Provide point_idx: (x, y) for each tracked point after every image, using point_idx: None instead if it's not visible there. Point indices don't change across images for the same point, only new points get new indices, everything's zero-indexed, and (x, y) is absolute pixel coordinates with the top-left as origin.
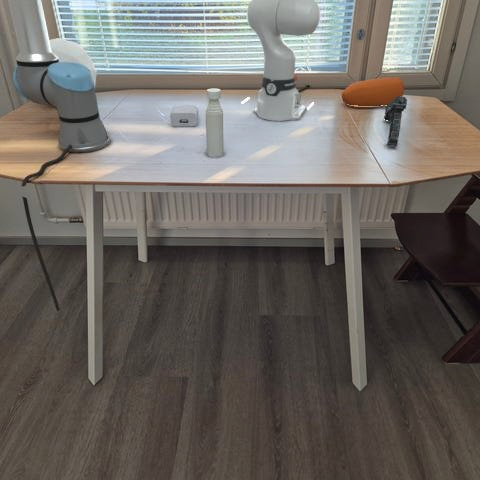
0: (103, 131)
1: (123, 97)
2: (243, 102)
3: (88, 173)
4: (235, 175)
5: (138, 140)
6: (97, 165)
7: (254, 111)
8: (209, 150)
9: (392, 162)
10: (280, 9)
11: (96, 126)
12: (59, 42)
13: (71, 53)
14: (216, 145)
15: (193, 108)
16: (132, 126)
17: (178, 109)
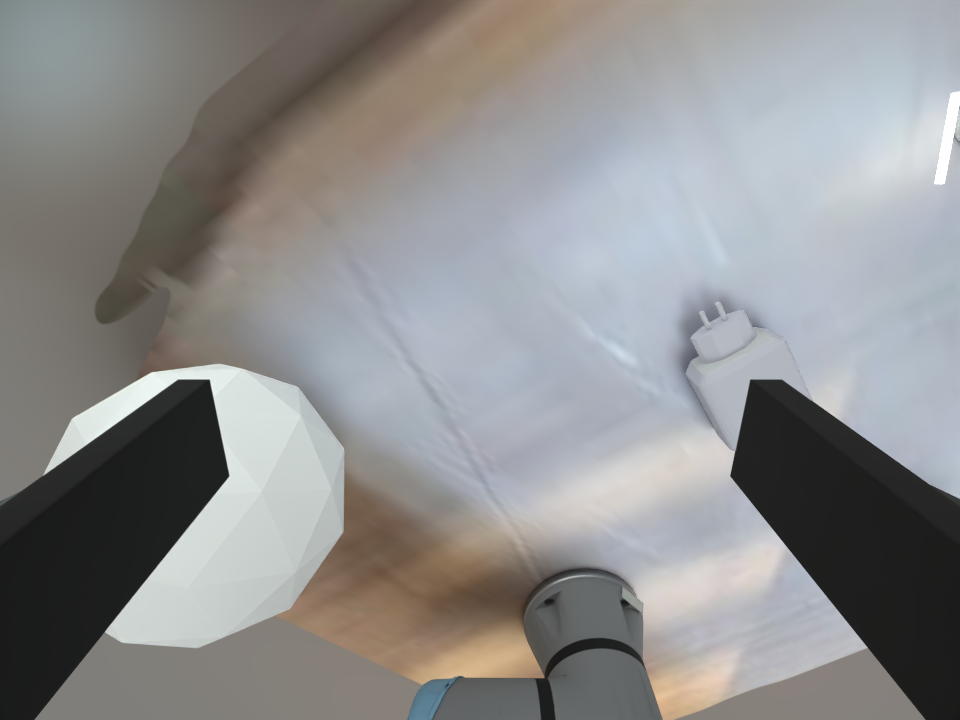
0: (640, 626)
1: (342, 267)
2: (942, 168)
3: (694, 690)
4: None
5: (684, 543)
6: (686, 665)
7: (957, 137)
8: None
9: None
10: None
11: (642, 655)
12: (183, 609)
13: (274, 576)
14: None
15: (788, 377)
16: (602, 481)
17: (742, 412)
